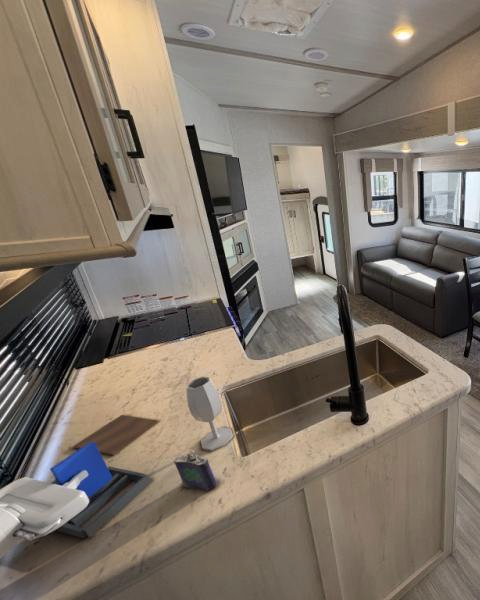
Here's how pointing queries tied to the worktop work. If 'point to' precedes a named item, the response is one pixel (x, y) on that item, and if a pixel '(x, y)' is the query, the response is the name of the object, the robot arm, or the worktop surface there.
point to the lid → (88, 461)
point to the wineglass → (207, 411)
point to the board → (118, 434)
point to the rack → (103, 497)
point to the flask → (195, 471)
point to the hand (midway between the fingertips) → (81, 471)
